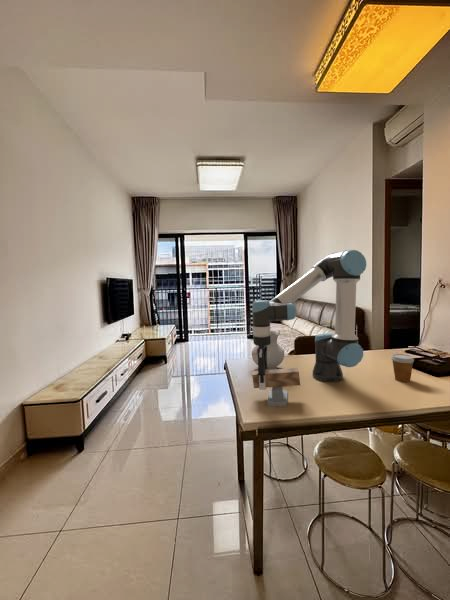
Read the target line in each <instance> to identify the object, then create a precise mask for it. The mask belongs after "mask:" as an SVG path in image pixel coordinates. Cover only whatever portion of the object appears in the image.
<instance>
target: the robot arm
mask: <svg viewBox="0 0 450 600" xmlns="http://www.w3.org/2000/svg"><path fill="white" fill-rule="evenodd" d="M366 268H367V259H366V257H365V255H364V254H363V253H362V252H360V251H359V250H358V249H357V250H356V249H347V250H343V251H338V252H332V253H330V254H327V255H325V256H324V257H323V258H322V259H320V260H319V261H318V262H316V263H315V264H313V265H312V266H311V268H310V270H309V271H308V272H306V273H305V274H304V275H303V276H301V277H300V278H298V279H297V280H295V282H293V283H292V284H290V285H289V286H288V287H287V288H285V289H284V290H282V291H281V292H280V293H279V294H277V295H276V296H275V297H273V298H272V299H271V300H267V299H264V300H263V299H262V300H261V299H257V300H254V301H253V302H252V306H251V307H252V308H251V310H252V311H251V313H252V328H251V330H252V335H253V334H254V335H255V336H254V337H253V336H252V337H253V340H252V341H253V344H254V346H256V345H258V346H259V348H258V349H257V354H258V365H257V371H258V374H257V375H259V388H258V389H259V390H260V391H261V390H262V391H266V388H267V387H266V380H265V370H266V369H268V367H267V346H266V345H270V343H271V337H270V334H271V332H270V331H271V322H279V321H291V320H294V319H295V318H296V316H297V307H296V305H295V304H294V302H296V301H297V300H298V299H299V298H301V297H303V296H304V295H305V294H306V293H308V292H309V291H310V290H311V289H313V288H314V287H316V285H318V284H319V283H321V282H325V281H326V280H329V279H330V278H332V280H333V281H334V283H336V285H335V286H336V288H335V315H334V316H335V321H334V322H335V323H334V324H335V325H334V333H331V332H328V333H327V332H326V333H319V334H316V335H315V336H314V337H315V338H314V346H315V347H314V348H315V349H314V350H315V354H314V355H315V363H314V366H313V369H312V377H313V378H314V379H316V380H318V381H322V382H323V381H324V382H327V383H328V382H334V383H335V382H340V381H342V380H343V379H344V373H343V371H342V367H341V366H343V367H347V368H353V367H354V368H355V366H358V365H359V363H361V362H362V360H363V357H364V349H363V347H362V346H361V345H360V344H359V337H358V335H356V331H355V329H356V308H357V305H356V303H357V283H358V282H359V281H360V280H361V275H362V274H363V273H364V272H365V271H366ZM253 330H254V331H253Z"/></svg>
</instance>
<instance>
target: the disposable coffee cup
mask: <svg viewBox="0 0 450 600" xmlns="http://www.w3.org/2000/svg"><path fill="white" fill-rule="evenodd" d="M391 360H392V366H393V374H394V380H395V381H398V382H401V383H410V382H411V378H412V372H413V365H414V361H415V359H414V356H412V355H410V354H405V353H404V354H403V353H395V354H392V355H391Z"/></svg>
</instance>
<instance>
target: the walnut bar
mask: <svg viewBox="0 0 450 600" xmlns="http://www.w3.org/2000/svg"><path fill="white" fill-rule="evenodd" d="M251 373H252V385H253V389H259V375H257V374H258V370H252V372H251ZM300 379H301V378H300V371H299V369H298V367H293V368H278V369H276V370H265V380H266V388H272V387H281V386H283V387H294V386H301V381H300Z"/></svg>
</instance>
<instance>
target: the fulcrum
mask: <svg viewBox="0 0 450 600" xmlns="http://www.w3.org/2000/svg"><path fill="white" fill-rule="evenodd" d="M268 393H269V394H268V398H267V402H266V405H267V406H273V407H283V408H285V407H286V408H287V406H288V390H284V386H281V387H271V389H270V390H269V392H268Z"/></svg>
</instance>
